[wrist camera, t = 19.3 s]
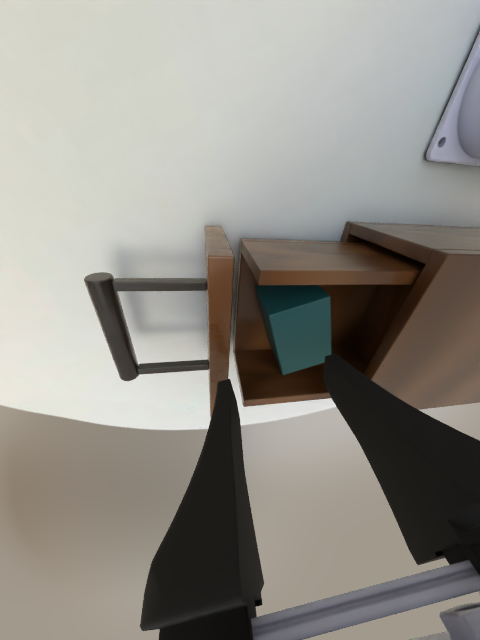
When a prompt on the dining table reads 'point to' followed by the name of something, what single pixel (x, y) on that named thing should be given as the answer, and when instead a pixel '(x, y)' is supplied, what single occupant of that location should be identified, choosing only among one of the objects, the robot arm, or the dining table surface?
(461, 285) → the cabinet
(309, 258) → the drawer
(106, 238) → the dining table surface
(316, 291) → the tea box
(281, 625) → the robot arm
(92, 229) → the dining table surface
